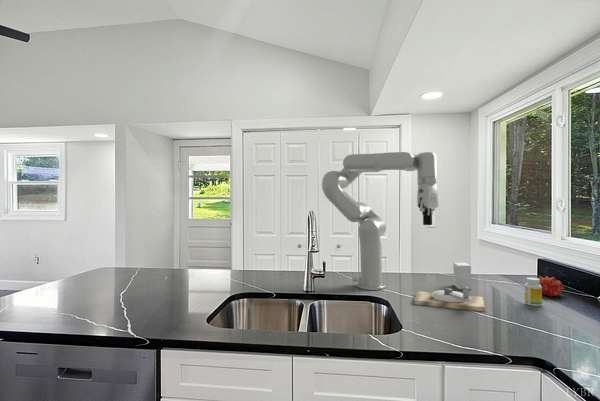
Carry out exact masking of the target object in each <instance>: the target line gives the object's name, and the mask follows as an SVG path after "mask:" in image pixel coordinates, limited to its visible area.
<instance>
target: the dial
mask: <svg viewBox="0 0 600 401" xmlns="http://www.w3.org/2000/svg"><path fill="white" fill-rule="evenodd" d="M469 290H470V289H469V287H466V286H464V287H463V289H462V292H460V291H457V290H456V291H454V290H453V288H450V287H444V288H443V289H441V290H434V291H431V292H432V298H433V299H435V300H438V301H442V302H450V303H458V302H464V301H465V302H470V299H469V296H470V295H469V294H470V293H469Z"/></svg>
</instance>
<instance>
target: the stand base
mask: <svg viewBox="0 0 600 401" xmlns="http://www.w3.org/2000/svg"><path fill="white" fill-rule="evenodd" d="M432 292H433V291H431V292H430V291H420V290H418V291H417V292H416V295H415V297H414V299H413V304H414V305H419V306H426V307H427V306H429V307H436V308H437V307H439V308H446V309H447V308H448V309H457V310H465V311H466V310H467V311H475V312H476V311H477V312H486V306H485V302H484V296H475V295H469V299H470V302H465V301H464V302H458V303H450V302H442V301H438V300H435V299H433V298H432Z"/></svg>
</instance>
